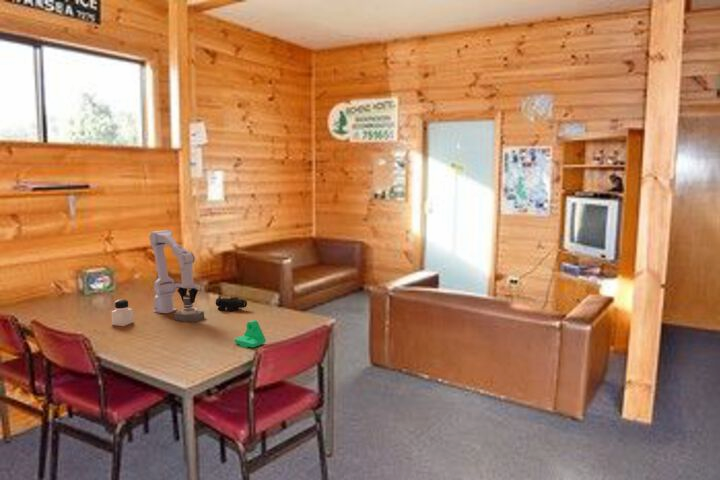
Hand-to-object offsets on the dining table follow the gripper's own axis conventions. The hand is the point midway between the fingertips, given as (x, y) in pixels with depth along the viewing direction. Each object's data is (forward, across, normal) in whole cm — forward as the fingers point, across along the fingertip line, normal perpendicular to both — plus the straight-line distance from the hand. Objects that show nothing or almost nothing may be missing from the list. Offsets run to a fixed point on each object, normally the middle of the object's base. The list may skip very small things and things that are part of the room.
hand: (188, 302), depth 265 cm
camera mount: (+9, +49, -23) cm, 55 cm away
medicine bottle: (+9, -27, -17) cm, 33 cm away
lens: (+2, 0, 0) cm, 2 cm away
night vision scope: (+9, +11, +21) cm, 26 cm away
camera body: (+9, 0, 0) cm, 9 cm away
